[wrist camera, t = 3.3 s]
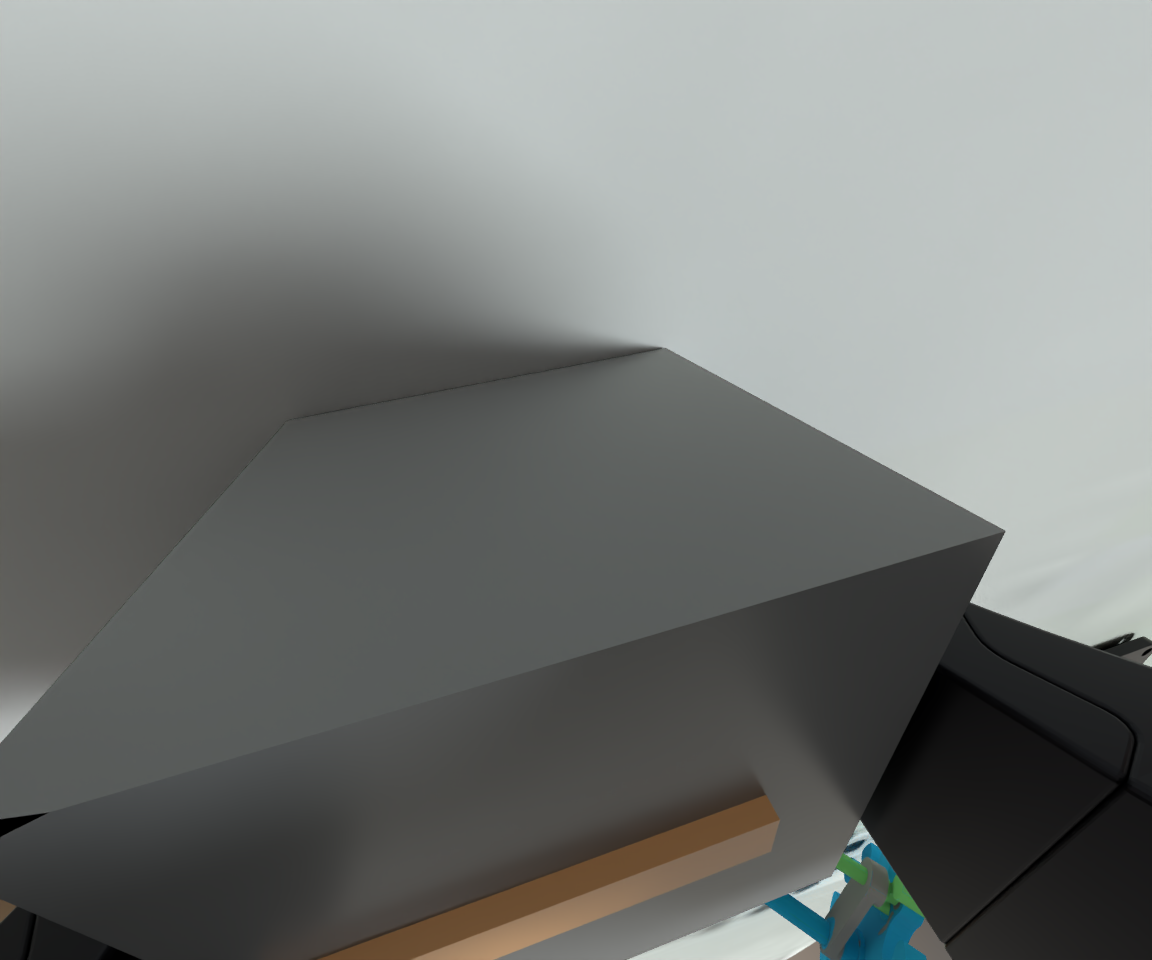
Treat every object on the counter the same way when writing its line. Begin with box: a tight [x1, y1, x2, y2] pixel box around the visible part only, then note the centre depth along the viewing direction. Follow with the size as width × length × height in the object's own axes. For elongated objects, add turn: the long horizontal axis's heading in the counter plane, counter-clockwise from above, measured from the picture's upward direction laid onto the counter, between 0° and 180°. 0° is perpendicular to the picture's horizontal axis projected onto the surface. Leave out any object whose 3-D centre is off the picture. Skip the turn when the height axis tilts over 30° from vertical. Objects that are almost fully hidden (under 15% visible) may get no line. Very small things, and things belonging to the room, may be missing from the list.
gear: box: [764, 843, 926, 960], centre depth 22 cm, size 11×6×10 cm
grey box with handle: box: [0, 348, 1005, 960], centre depth 6 cm, size 6×6×6 cm
